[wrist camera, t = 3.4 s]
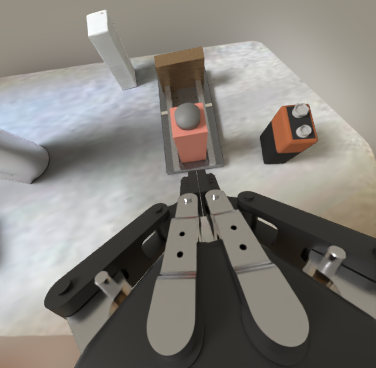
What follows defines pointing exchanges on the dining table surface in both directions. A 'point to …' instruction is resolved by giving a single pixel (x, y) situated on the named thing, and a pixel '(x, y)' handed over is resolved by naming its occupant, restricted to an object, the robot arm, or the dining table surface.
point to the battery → (288, 134)
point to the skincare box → (111, 48)
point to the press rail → (186, 93)
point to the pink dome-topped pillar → (189, 131)
